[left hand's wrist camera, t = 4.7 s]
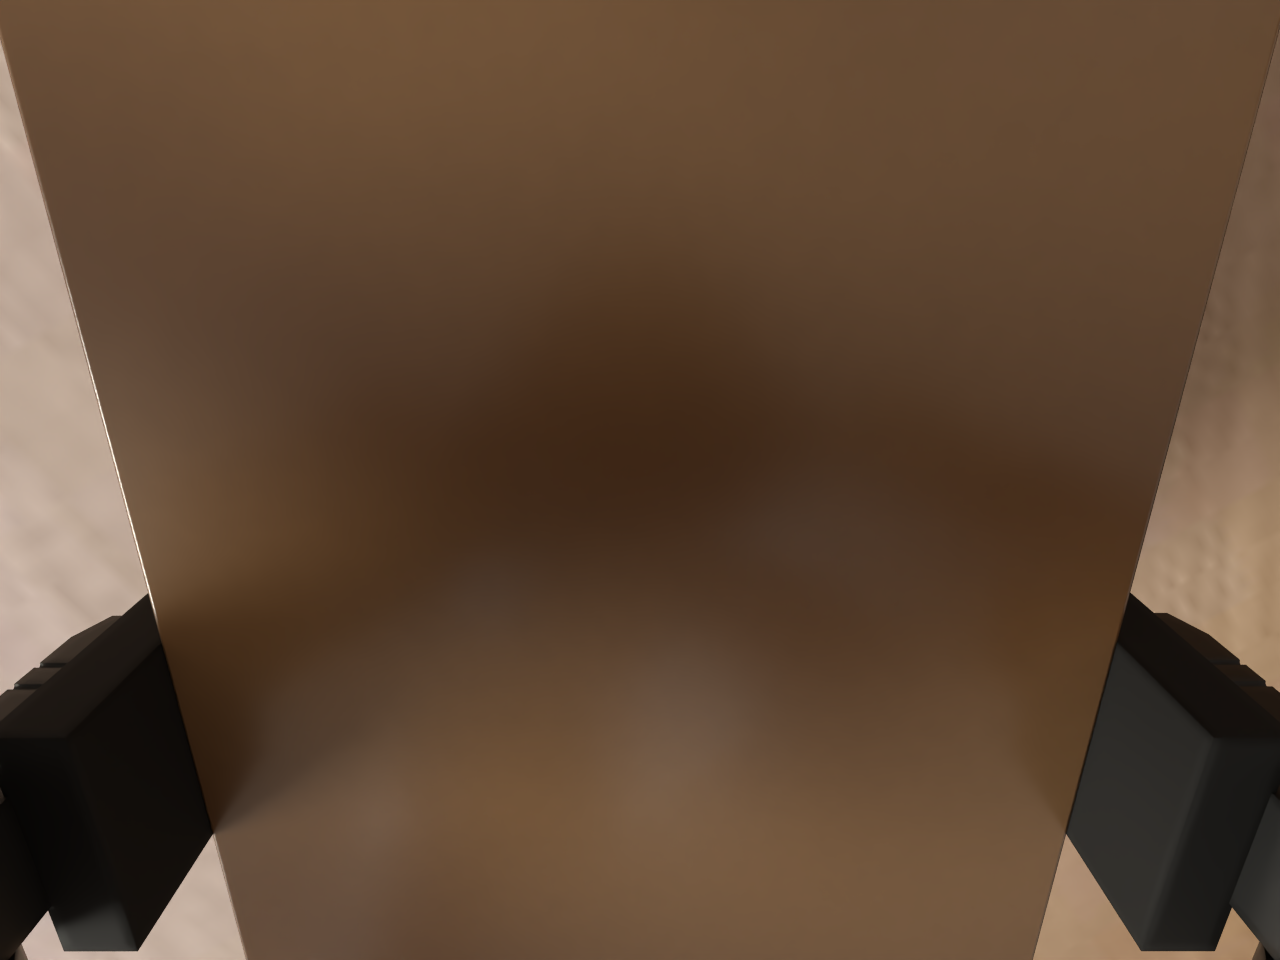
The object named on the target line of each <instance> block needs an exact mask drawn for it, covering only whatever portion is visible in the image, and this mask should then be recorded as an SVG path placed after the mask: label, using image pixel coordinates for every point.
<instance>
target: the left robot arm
mask: <svg viewBox="0 0 1280 960" xmlns="http://www.w3.org/2000/svg"><path fill="white" fill-rule="evenodd" d="M1265 682H1266V681H1265V680H1264V679H1263V678H1261V677H1260V676H1259V675H1258V674H1256V673H1255V672H1254V671H1253V670H1252V669H1250V668H1249V667H1248V666H1247V665H1240V660H1239V659H1238V658H1237V657H1236V656H1234V655H1233V654H1232V653H1231V652H1230V651H1228V650H1227V649H1226V648H1225V647H1223V646H1222V645H1221V644H1220V643H1219V642H1217V641H1216V640H1215V639H1214V638H1212V637H1211V636H1210V635H1209V634H1207V633H1205V632H1203V631H1201V630H1199V629H1197V628H1195V627H1193V626H1191V625H1189V624H1187V623H1186V622H1184V621H1182V620H1180V619H1178V618H1176V617H1174V616H1172V615H1170V614H1168V613H1153V612H1152V611H1151V610H1150V609H1149V608H1147V607H1146V606H1145V605H1144V604H1143V603H1142V602H1140V601H1139V600H1138V599H1137V598H1136V597H1135V596H1134V595H1132V594H1131V593H1130V594H1129V598H1128V602H1127V606H1126V609H1125V613H1124V617H1123V621H1122V625H1121V628H1120V632H1119V636H1118V640H1117V643H1116V647H1115V651H1114V655H1113V659H1112V662H1111V666H1110V670H1109V674H1108V677H1107V681H1106V685H1105V689H1104V692H1103V696H1102V700H1101V704H1100V708H1099V711H1098V715H1097V719H1096V723H1095V726H1094V730H1093V734H1092V738H1091V742H1090V745H1089V749H1088V753H1087V757H1086V760H1085V764H1084V768H1083V772H1082V775H1081V779H1080V783H1079V787H1078V791H1077V794H1076V798H1075V802H1074V806H1073V809H1072V813H1071V817H1070V821H1069V825H1068V828H1067V832H1066V834H1067V836H1068V837H1069V839H1070V840H1071V842H1072V844H1073V845H1074V847H1075V848H1076V850H1077V851H1078V853H1079V855H1080V856H1081V858H1082V859H1083V861H1084V862H1085V864H1086V865H1087V867H1088V869H1089V870H1090V872H1091V873H1092V875H1093V876H1094V878H1095V880H1096V881H1097V883H1098V884H1099V886H1100V887H1101V889H1102V890H1103V892H1104V894H1105V895H1106V897H1107V898H1108V900H1109V901H1110V903H1111V904H1112V906H1113V908H1114V909H1115V911H1116V912H1117V914H1118V915H1119V917H1120V919H1121V920H1122V922H1123V923H1124V925H1125V926H1126V928H1127V929H1128V931H1129V933H1130V934H1131V936H1132V937H1133V939H1134V940H1135V942H1136V944H1137V945H1138V947H1139V948H1140V950H1141V951H1215V949H1216V947H1217V944H1218V942H1219V939H1220V937H1221V934H1222V931H1223V929H1224V926H1225V924H1226V921H1227V919H1228V916H1229V914H1230V911H1231V908H1233V909H1234V910H1235V911H1236V913H1237V914H1238V915H1239V916H1240V918H1241V919H1242V920H1243V921H1244V923H1245V924H1246V925H1247V926H1248V928H1249V929H1250V930H1251V931H1252V933H1253V934H1254V935H1255V936H1256V938H1257V939H1258V940H1259V941H1260V942H1259V944H1258V947H1257V949H1256V951H1255V954H1254V956H1253V959H1252V960H1280V692H1278V691H1277V690H1276V689H1275V688H1273V687H1267V686H1266V684H1265ZM14 686H15V687H14V689H13V690H7V691H5V692H4V693H3V694H2V695H1V696H0V960H28V959H27V956H26V954H25V951H24V949H23V947H22V942H23V941H24V940H25V938H26V937H27V936H28V935H29V933H30V932H31V931H32V930H33V928H34V927H35V926H36V925H37V923H38V922H39V921H40V920H41V918H42V917H43V916H44V915H45V913H46V912H47V911H49V914H50V916H51V919H52V921H53V924H54V927H55V929H56V932H57V934H58V937H59V939H60V942H61V945H62V947H63V950H64V951H138V950H139V948H140V947H141V945H142V944H143V942H144V941H145V939H146V938H147V936H148V934H149V933H150V931H151V930H152V928H153V927H154V925H155V923H156V922H157V920H158V919H159V917H160V916H161V914H162V913H163V911H164V909H165V908H166V906H167V905H168V903H169V902H170V900H171V898H172V897H173V895H174V894H175V892H176V891H177V889H178V888H179V886H180V884H181V883H182V881H183V880H184V878H185V877H186V875H187V873H188V872H189V870H190V869H191V867H192V866H193V864H194V863H195V861H196V859H197V858H198V856H199V855H200V853H201V852H202V850H203V848H204V847H205V845H206V844H207V842H208V841H209V839H210V838H211V836H212V834H213V833H212V830H211V826H210V822H209V818H208V815H207V811H206V807H205V803H204V800H203V796H202V792H201V788H200V785H199V781H198V777H197V773H196V770H195V766H194V762H193V758H192V755H191V751H190V747H189V743H188V740H187V736H186V732H185V728H184V725H183V721H182V717H181V713H180V710H179V706H178V702H177V699H176V695H175V691H174V687H173V684H172V680H171V676H170V672H169V669H168V665H167V661H166V657H165V654H164V650H163V646H162V642H161V639H160V635H159V631H158V627H157V624H156V620H155V616H154V612H153V609H152V605H151V601H150V597H149V594H147V595H145V596H144V597H143V598H142V599H141V600H140V601H139V602H137V603H136V604H135V605H134V606H133V607H132V608H130V609H129V610H128V611H127V612H126V613H125V614H124V615H122V616H111V617H109V618H107V619H105V620H104V621H102V622H100V623H98V624H96V625H94V626H92V627H90V628H88V629H86V630H84V631H82V632H80V633H79V634H77V635H75V636H73V637H71V638H70V639H68V640H67V641H66V642H65V643H64V644H62V645H61V646H60V647H59V648H58V649H56V650H55V651H54V652H53V653H51V654H50V655H49V656H48V657H47V658H45V659H44V660H43V661H42V662H41V663H40V667H39V668H33V669H32V670H31V671H30V672H28V673H27V674H26V675H25V676H24V677H22V678H21V679H20V680H19V681H18V682H16V683H15V684H14Z"/></svg>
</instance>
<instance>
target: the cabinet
mask: <svg viewBox="0 0 1280 960" xmlns="http://www.w3.org/2000/svg"><path fill="white" fill-rule="evenodd" d="M1279 29H1280V0H0V40H1V43H2V47H3V51H4V54H5V58H6V62H7V66H8V69H9V73H10V77H11V81H12V84H13V88H14V92H15V96H16V99H17V103H18V107H19V111H20V114H21V118H22V122H23V126H24V129H25V133H26V137H27V141H28V144H29V148H30V152H31V156H32V159H33V163H34V167H35V171H36V174H37V178H38V182H39V186H40V189H41V193H42V197H43V201H44V204H45V208H46V212H47V215H48V219H49V223H50V227H51V230H52V234H53V238H54V242H55V245H56V249H57V253H58V257H59V260H60V264H61V268H62V272H63V275H64V279H65V283H66V287H67V290H68V294H69V298H70V302H71V305H72V309H73V313H74V317H75V320H76V324H77V328H78V332H79V335H80V339H81V343H82V347H83V350H84V354H85V358H86V362H87V365H88V369H89V373H90V376H91V380H92V384H93V388H94V391H95V395H96V399H97V403H98V406H99V410H100V414H101V418H102V421H103V425H104V429H105V433H106V436H107V440H108V444H109V448H110V451H111V455H112V459H113V463H114V466H115V470H116V474H117V478H118V481H119V485H120V489H121V493H122V496H123V500H124V504H125V508H126V511H127V515H128V519H129V523H130V526H131V530H132V534H133V538H134V541H135V545H136V549H137V552H138V556H139V560H140V564H141V567H142V571H143V575H144V579H145V582H146V586H147V590H148V594H149V597H150V601H151V605H152V609H153V612H154V616H155V620H156V624H157V627H158V631H159V635H160V639H161V642H162V646H163V650H164V654H165V657H166V661H167V665H168V669H169V672H170V676H171V680H172V684H173V687H174V691H175V695H176V699H177V702H178V706H179V710H180V713H181V717H182V721H183V725H184V728H185V732H186V736H187V740H188V743H189V747H190V751H191V755H192V758H193V762H194V766H195V770H196V773H197V777H198V781H199V785H200V788H201V792H202V796H203V800H204V803H205V807H206V811H207V815H208V818H209V822H210V826H211V830H212V833H213V837H214V841H215V845H216V848H217V852H218V856H219V860H220V863H221V867H222V871H223V874H224V878H225V882H226V886H227V889H228V893H229V897H230V901H231V904H232V908H233V912H234V916H235V919H236V923H237V927H238V931H239V934H240V938H241V942H242V946H243V949H244V953H245V957H246V960H1033V957H1034V953H1035V949H1036V945H1037V941H1038V938H1039V934H1040V930H1041V926H1042V923H1043V919H1044V915H1045V911H1046V908H1047V904H1048V900H1049V896H1050V892H1051V889H1052V885H1053V881H1054V877H1055V874H1056V870H1057V866H1058V862H1059V858H1060V855H1061V851H1062V847H1063V843H1064V840H1065V836H1066V832H1067V828H1068V825H1069V821H1070V817H1071V813H1072V809H1073V806H1074V802H1075V798H1076V794H1077V791H1078V787H1079V783H1080V779H1081V775H1082V772H1083V768H1084V764H1085V760H1086V757H1087V753H1088V749H1089V745H1090V742H1091V738H1092V734H1093V730H1094V726H1095V723H1096V719H1097V715H1098V711H1099V708H1100V704H1101V700H1102V696H1103V692H1104V689H1105V685H1106V681H1107V677H1108V674H1109V670H1110V666H1111V662H1112V659H1113V655H1114V651H1115V647H1116V643H1117V640H1118V636H1119V632H1120V628H1121V625H1122V621H1123V617H1124V613H1125V609H1126V606H1127V602H1128V598H1129V594H1130V591H1131V587H1132V583H1133V579H1134V576H1135V572H1136V568H1137V564H1138V560H1139V557H1140V553H1141V549H1142V545H1143V542H1144V538H1145V534H1146V530H1147V526H1148V523H1149V519H1150V515H1151V511H1152V508H1153V504H1154V500H1155V496H1156V493H1157V489H1158V485H1159V481H1160V477H1161V474H1162V470H1163V466H1164V462H1165V459H1166V455H1167V451H1168V447H1169V443H1170V440H1171V436H1172V432H1173V428H1174V425H1175V421H1176V417H1177V413H1178V410H1179V406H1180V402H1181V398H1182V394H1183V391H1184V387H1185V383H1186V379H1187V376H1188V372H1189V368H1190V364H1191V361H1192V357H1193V353H1194V349H1195V345H1196V342H1197V338H1198V334H1199V330H1200V327H1201V323H1202V319H1203V315H1204V311H1205V308H1206V304H1207V300H1208V296H1209V293H1210V289H1211V285H1212V281H1213V278H1214V274H1215V270H1216V266H1217V262H1218V259H1219V255H1220V251H1221V247H1222V244H1223V240H1224V236H1225V232H1226V228H1227V225H1228V221H1229V217H1230V213H1231V210H1232V206H1233V202H1234V198H1235V195H1236V191H1237V187H1238V183H1239V179H1240V176H1241V172H1242V168H1243V164H1244V161H1245V157H1246V153H1247V149H1248V145H1249V142H1250V138H1251V134H1252V130H1253V127H1254V123H1255V119H1256V115H1257V112H1258V108H1259V104H1260V100H1261V96H1262V93H1263V89H1264V85H1265V81H1266V78H1267V74H1268V70H1269V66H1270V62H1271V59H1272V55H1273V51H1274V47H1275V44H1276V40H1277V36H1278V32H1279Z"/></svg>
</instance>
